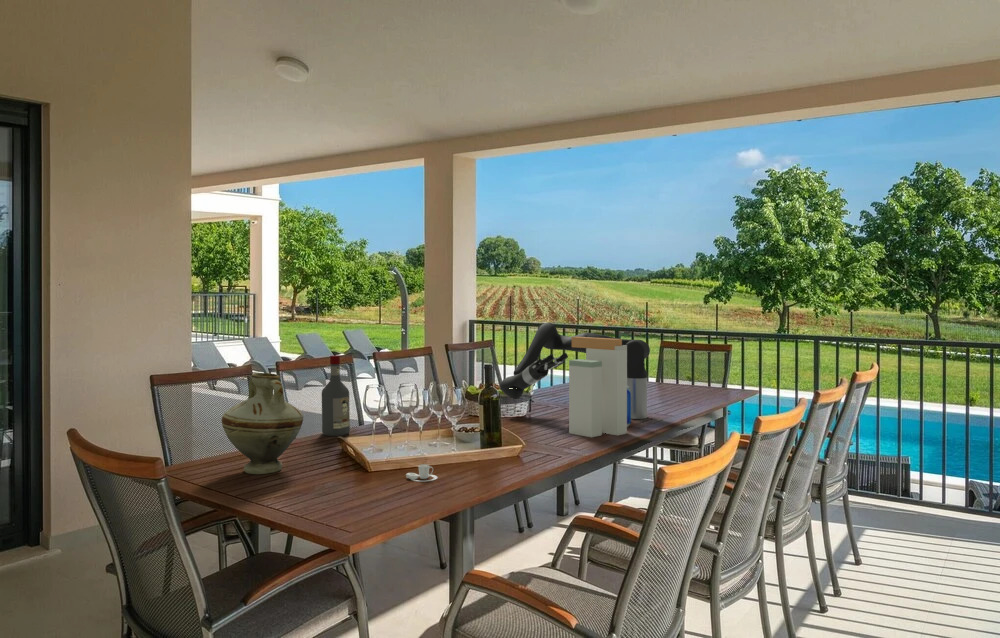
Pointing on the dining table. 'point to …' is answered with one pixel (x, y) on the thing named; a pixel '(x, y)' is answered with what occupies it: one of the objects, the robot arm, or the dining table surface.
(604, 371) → the white post
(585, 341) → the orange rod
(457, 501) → the dining table surface
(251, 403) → the amphora
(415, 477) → the teacup and saucer
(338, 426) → the liquor
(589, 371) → the green-topped post
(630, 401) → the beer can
